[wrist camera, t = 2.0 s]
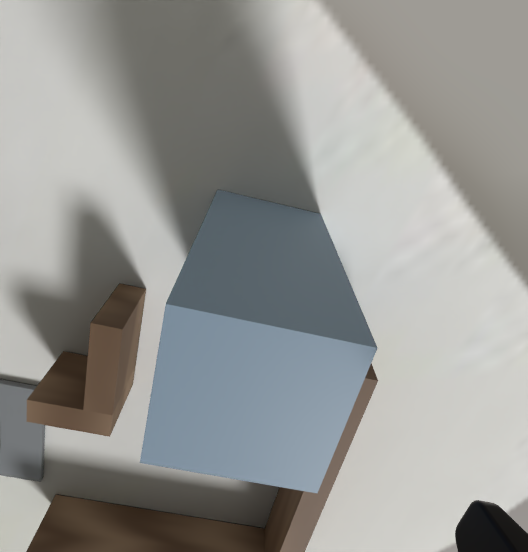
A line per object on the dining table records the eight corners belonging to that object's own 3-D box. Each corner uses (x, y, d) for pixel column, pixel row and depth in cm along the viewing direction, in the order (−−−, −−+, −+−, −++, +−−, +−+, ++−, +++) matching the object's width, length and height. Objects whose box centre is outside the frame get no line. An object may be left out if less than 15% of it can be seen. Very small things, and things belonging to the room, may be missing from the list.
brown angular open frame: (54, 508, 25) (24, 569, 22) (67, 272, 19) (28, 310, 16) (279, 544, 27) (280, 607, 23) (360, 334, 20) (377, 380, 17)
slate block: (199, 283, 19) (140, 462, 10) (217, 189, 18) (165, 303, 8) (293, 303, 20) (317, 493, 11) (320, 213, 18) (377, 348, 9)
